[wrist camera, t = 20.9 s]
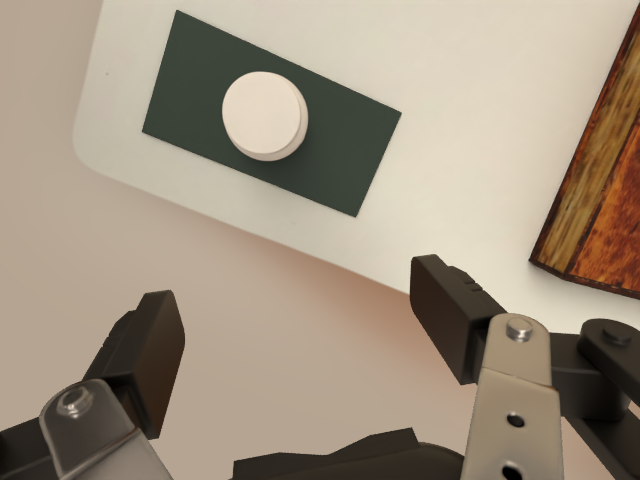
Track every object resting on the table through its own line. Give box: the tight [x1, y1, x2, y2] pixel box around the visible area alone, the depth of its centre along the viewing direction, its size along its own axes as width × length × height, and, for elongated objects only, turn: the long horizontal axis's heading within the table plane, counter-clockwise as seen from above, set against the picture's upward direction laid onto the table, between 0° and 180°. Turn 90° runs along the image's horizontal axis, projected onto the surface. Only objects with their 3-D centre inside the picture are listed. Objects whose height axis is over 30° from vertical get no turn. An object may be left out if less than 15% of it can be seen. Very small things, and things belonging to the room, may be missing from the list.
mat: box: [142, 10, 402, 217], centre depth 31 cm, size 20×10×1 cm, turn 68°
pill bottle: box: [222, 72, 308, 161], centre depth 26 cm, size 6×6×10 cm
